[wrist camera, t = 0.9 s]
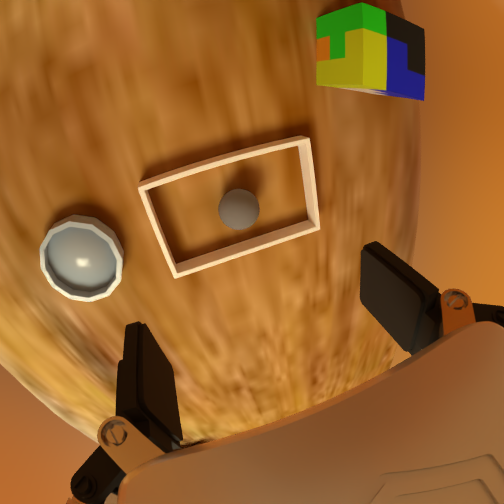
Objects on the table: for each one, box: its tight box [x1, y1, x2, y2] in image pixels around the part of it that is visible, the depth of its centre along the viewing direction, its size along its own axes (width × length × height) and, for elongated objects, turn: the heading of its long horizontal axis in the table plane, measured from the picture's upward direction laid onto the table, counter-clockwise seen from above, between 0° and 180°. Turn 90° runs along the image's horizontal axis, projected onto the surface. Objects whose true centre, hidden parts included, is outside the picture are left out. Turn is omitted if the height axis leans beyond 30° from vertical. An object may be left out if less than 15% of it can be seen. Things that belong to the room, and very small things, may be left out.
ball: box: [219, 189, 259, 230], centre depth 35 cm, size 5×5×5 cm
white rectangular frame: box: [138, 135, 320, 279], centre depth 36 cm, size 13×21×2 cm, turn 102°
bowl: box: [40, 214, 124, 302], centre depth 33 cm, size 12×12×2 cm
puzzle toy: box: [316, 2, 425, 101], centre depth 27 cm, size 10×10×10 cm
